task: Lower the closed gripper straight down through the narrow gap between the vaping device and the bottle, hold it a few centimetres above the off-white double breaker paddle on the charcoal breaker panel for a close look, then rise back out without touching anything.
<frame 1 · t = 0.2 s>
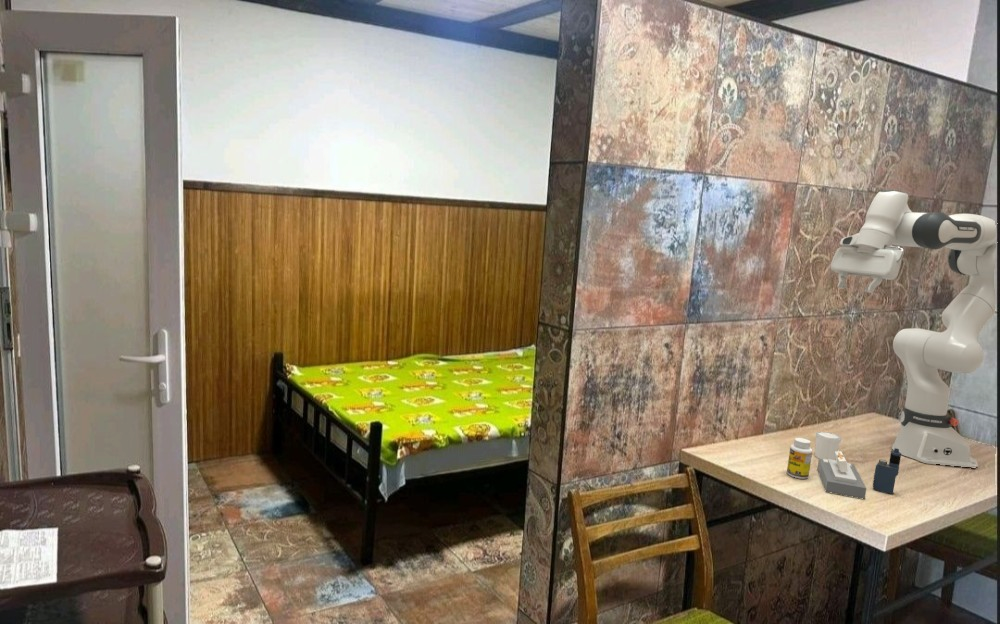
hand: (854, 290, 186), 51 cm above the table, tool tilted 20°, fingers open, 8 cm apart
vaping device: (883, 491, 174), on the table
white cylinder: (825, 458, 198), on the table
double breaker paddle: (841, 461, 177), point 6 cm above the table, hinge at 15.0°
breaker panel: (839, 483, 178), on the table
supplement bottle: (797, 476, 181), on the table
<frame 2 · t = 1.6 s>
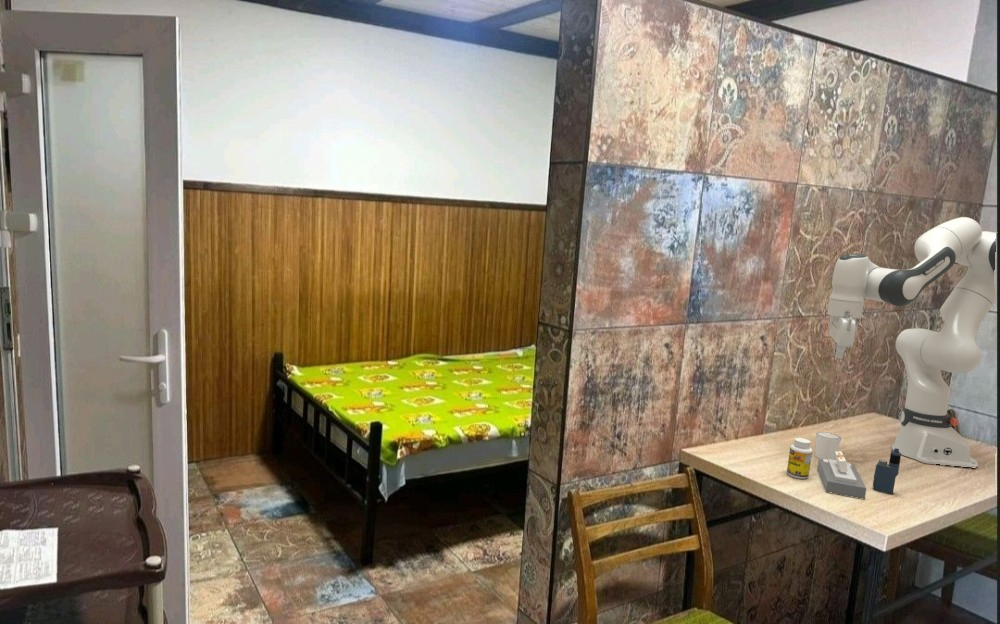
hand: (837, 357, 191), 31 cm above the table, tool pointing down, fingers closed
nothing on the table moved.
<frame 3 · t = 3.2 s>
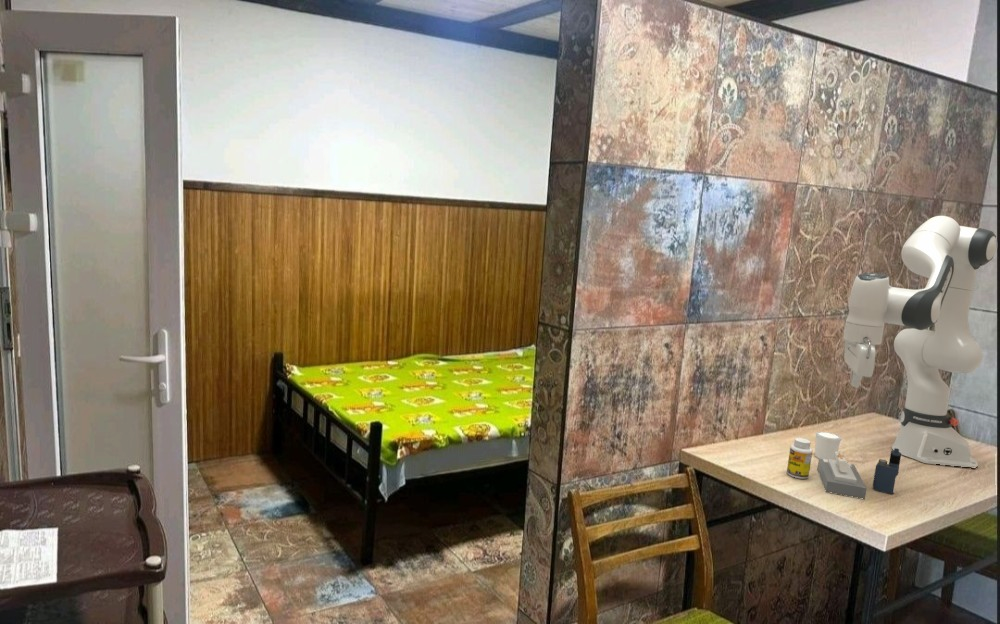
hand: (854, 386, 174), 27 cm above the table, tool pointing down, fingers closed
nothing on the table moved.
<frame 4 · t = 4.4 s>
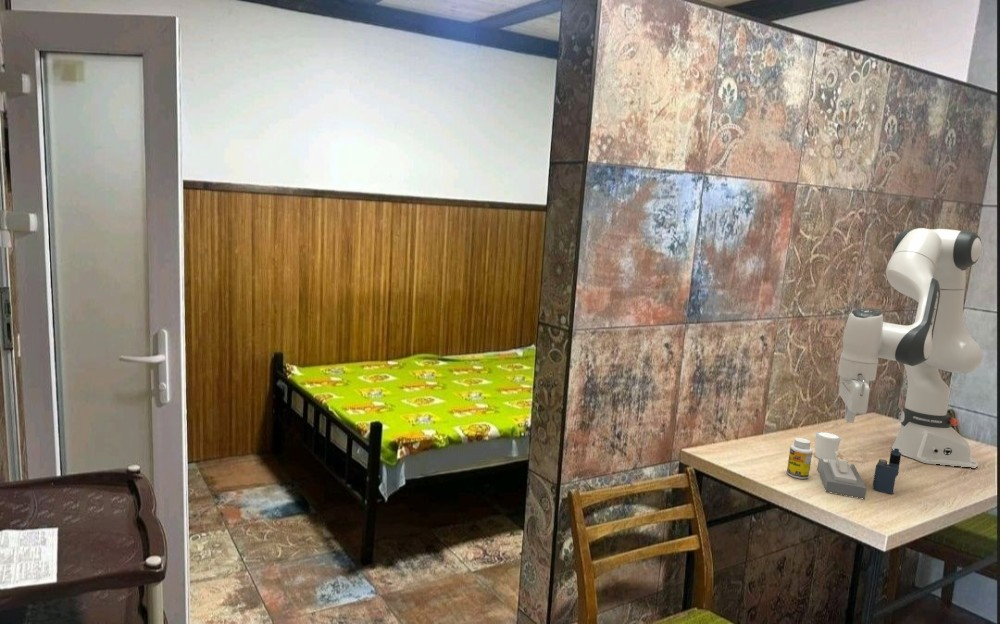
hand: (849, 421, 175), 17 cm above the table, tool pointing down, fingers closed
nothing on the table moved.
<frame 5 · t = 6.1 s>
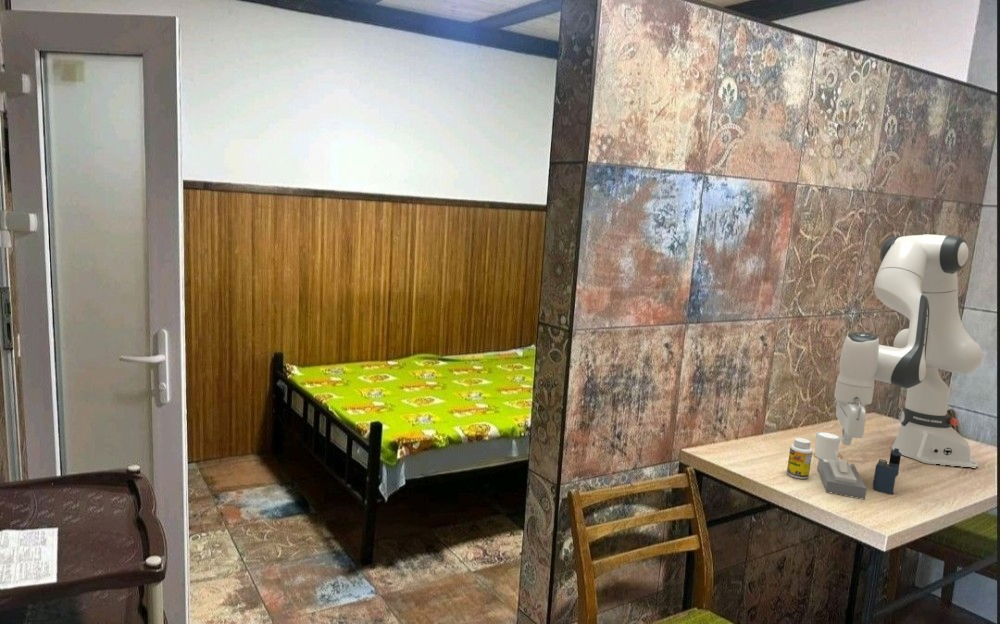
hand: (845, 443, 176), 11 cm above the table, tool pointing down, fingers closed
nothing on the table moved.
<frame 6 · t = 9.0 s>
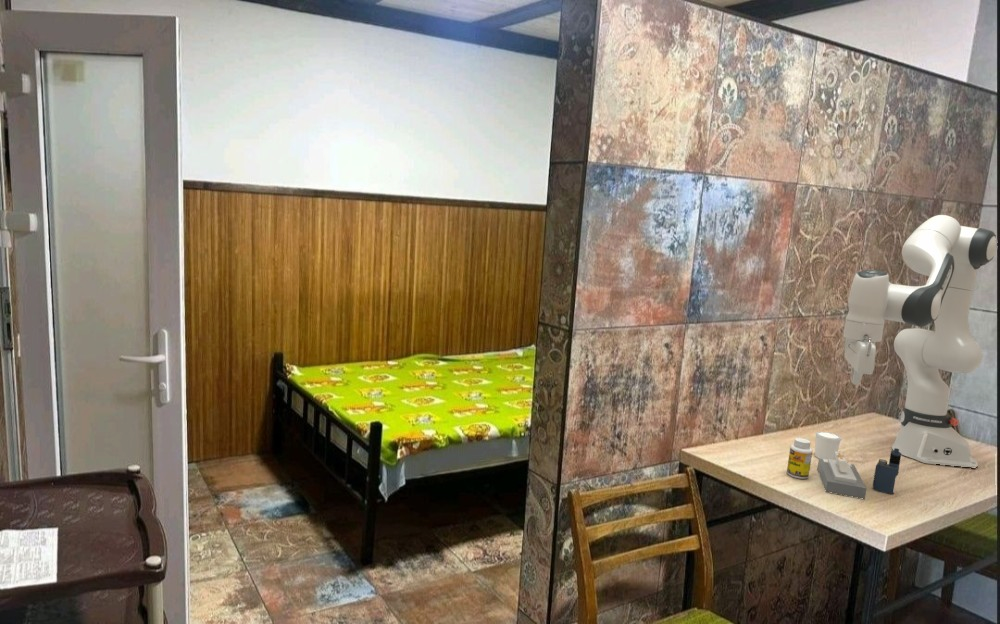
hand: (855, 383, 173), 28 cm above the table, tool pointing down, fingers closed
nothing on the table moved.
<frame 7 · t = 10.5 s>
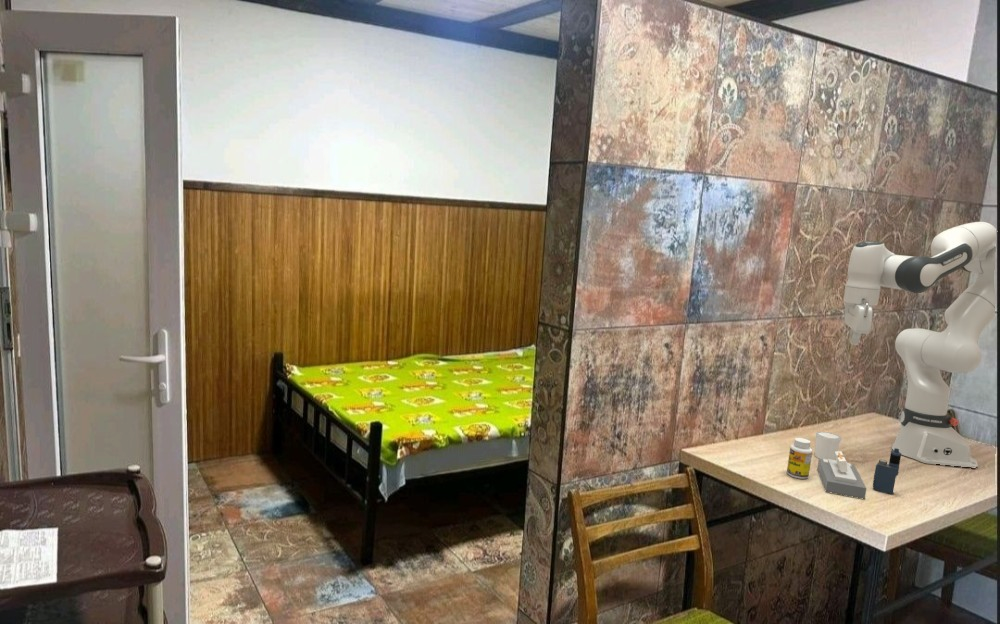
hand: (853, 344, 191), 35 cm above the table, tool pointing down, fingers closed
nothing on the table moved.
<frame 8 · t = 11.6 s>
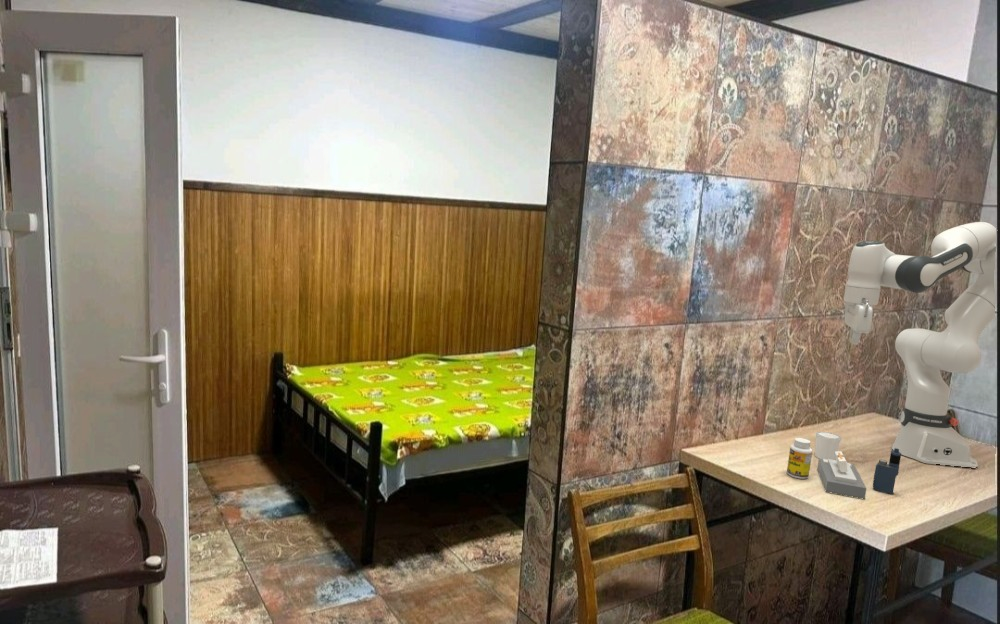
hand: (854, 344, 191), 35 cm above the table, tool pointing down, fingers closed
nothing on the table moved.
at the end: double breaker paddle at +15° (first picture: +15°); vaping device moved 0.2 cm from its start; supplement bottle moved 0.2 cm from its start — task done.
